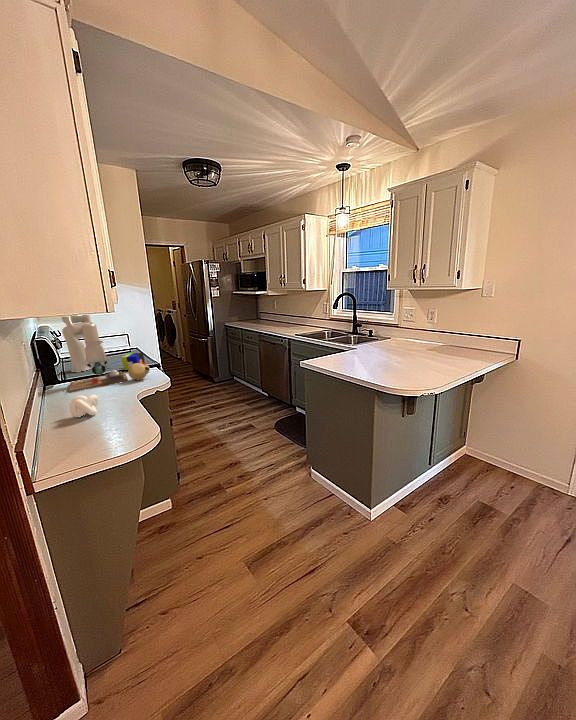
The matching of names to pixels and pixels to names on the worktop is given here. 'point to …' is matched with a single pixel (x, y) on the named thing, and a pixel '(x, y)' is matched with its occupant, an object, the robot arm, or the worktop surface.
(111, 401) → the worktop surface
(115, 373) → the dome
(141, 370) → the toy pig
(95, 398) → the white knot
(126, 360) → the puzzle toy
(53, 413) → the worktop surface
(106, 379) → the game board
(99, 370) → the pawn
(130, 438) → the worktop surface
